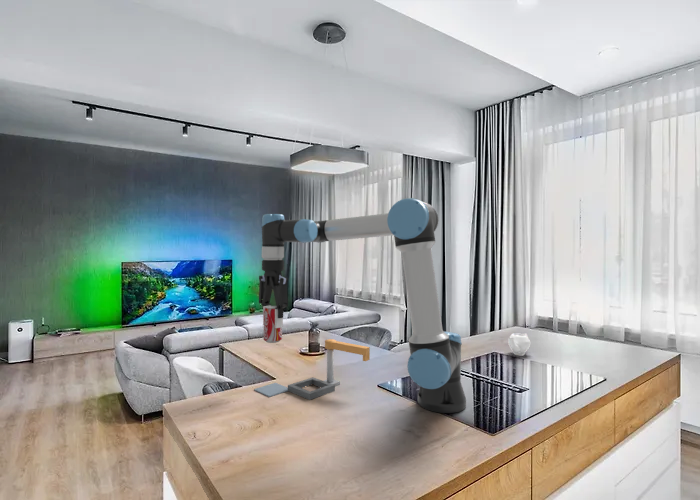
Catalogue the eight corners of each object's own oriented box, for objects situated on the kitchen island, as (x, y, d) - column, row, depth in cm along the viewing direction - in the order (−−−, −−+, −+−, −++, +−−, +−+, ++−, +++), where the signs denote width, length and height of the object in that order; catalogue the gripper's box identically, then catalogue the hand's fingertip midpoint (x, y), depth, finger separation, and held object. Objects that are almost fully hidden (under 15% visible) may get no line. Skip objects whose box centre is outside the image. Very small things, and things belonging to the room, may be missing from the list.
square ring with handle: (346, 386, 145) (346, 350, 145) (309, 400, 133) (309, 360, 133) (324, 378, 153) (324, 345, 153) (287, 390, 141) (287, 354, 141)
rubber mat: (291, 390, 142) (291, 388, 142) (269, 397, 135) (269, 395, 135) (275, 383, 148) (275, 382, 148) (254, 390, 141) (254, 389, 141)
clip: (329, 350, 150) (329, 338, 150) (370, 359, 140) (370, 346, 140) (322, 353, 147) (322, 340, 147) (364, 361, 136) (364, 348, 136)
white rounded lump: (537, 352, 193) (538, 332, 193) (520, 360, 179) (520, 339, 178) (517, 348, 200) (517, 329, 199) (499, 356, 185) (499, 336, 185)
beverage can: (277, 344, 137) (278, 308, 137) (260, 343, 139) (260, 307, 138) (284, 339, 144) (284, 305, 143) (267, 338, 145) (267, 305, 145)
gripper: (299, 259, 137) (298, 328, 137) (266, 257, 150) (265, 320, 150) (281, 260, 131) (280, 332, 132) (248, 258, 144) (248, 323, 145)
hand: (272, 325), depth 141 cm, fingers closed on beverage can, 6 cm apart
